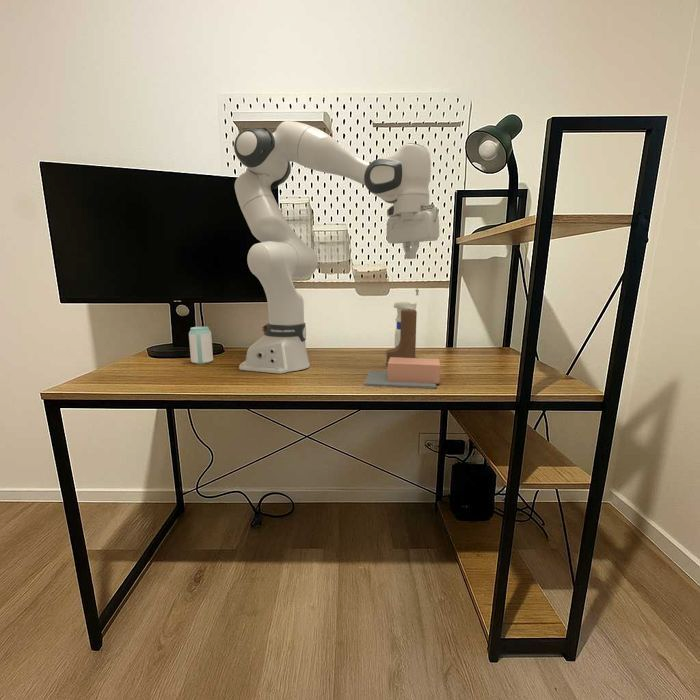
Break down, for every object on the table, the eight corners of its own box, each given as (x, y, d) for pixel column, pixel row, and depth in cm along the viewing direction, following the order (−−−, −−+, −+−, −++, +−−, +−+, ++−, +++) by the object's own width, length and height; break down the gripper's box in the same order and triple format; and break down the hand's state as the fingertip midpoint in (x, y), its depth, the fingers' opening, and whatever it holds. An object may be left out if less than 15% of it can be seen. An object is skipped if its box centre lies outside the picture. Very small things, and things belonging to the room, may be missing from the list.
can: (193, 360, 137) (190, 326, 134) (214, 359, 138) (212, 325, 136) (189, 365, 130) (186, 329, 128) (211, 364, 131) (208, 328, 129)
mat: (364, 385, 106) (364, 383, 106) (369, 372, 119) (369, 370, 119) (436, 388, 103) (436, 386, 103) (433, 375, 117) (433, 373, 117)
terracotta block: (439, 383, 106) (387, 381, 108) (438, 375, 113) (389, 373, 116) (440, 365, 105) (387, 363, 107) (439, 358, 113) (390, 357, 115)
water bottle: (405, 352, 149) (407, 286, 144) (420, 356, 142) (423, 286, 137) (388, 355, 145) (389, 286, 140) (402, 359, 138) (404, 287, 133)
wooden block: (387, 365, 129) (388, 310, 125) (386, 362, 133) (387, 309, 129) (415, 365, 129) (416, 310, 125) (412, 362, 133) (414, 309, 129)
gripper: (446, 204, 102) (443, 258, 105) (400, 212, 119) (399, 259, 122) (427, 201, 99) (424, 258, 102) (383, 211, 116) (381, 258, 119)
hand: (410, 258), depth 112 cm, fingers closed
